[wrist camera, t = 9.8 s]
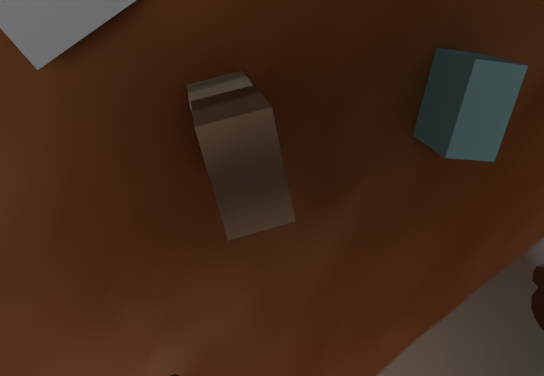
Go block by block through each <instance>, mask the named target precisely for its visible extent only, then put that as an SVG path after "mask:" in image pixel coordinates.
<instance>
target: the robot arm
mask: <svg viewBox="0 0 544 376" xmlns="http://www.w3.org/2000/svg"><path fill="white" fill-rule="evenodd" d="M532 281H533V282H534V283H535V284H536V285H537V286H538V288H537V289H536V291H535V292H534V294H533V295H532V298H531V299H532V300H531V301H532V303H531V306H532V307H531V308H532V311H533V314H534V317H535V319H536V321H537V322H538V324H539V325H540V327H541V328H542V330H543V331H544V264H543V265H540V266H537V267H536V268H535V270H534V272H533V280H532ZM171 376H179V375H177V374H175V375H171Z"/></svg>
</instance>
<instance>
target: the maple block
mask: <svg viewBox="0 0 544 376" xmlns="http://www.w3.org/2000/svg"><path fill="white" fill-rule="evenodd" d="M249 86H252V83H251V82H250V80H249V79H248V77H247V76H246V75H245V73H244V72H243V70H242V71H238V72H234V73H230V74H227V75H223V76H219V77H215V78H211V79H207V80H203V81H200V82H196V83H192V84H188V85H187V91H188V98H189V105H190V108H191V101H193V100H197V99H201V98H205V97H209V96H213V95H217V94H221V93H225V92H229V91H233V90H237V89H241V88H245V87H249ZM191 111H192V108H191Z"/></svg>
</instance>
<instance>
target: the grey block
mask: <svg viewBox="0 0 544 376" xmlns="http://www.w3.org/2000/svg"><path fill="white" fill-rule="evenodd" d="M135 1H136V0H0V28H1V29H2V30H3V32H4V33H5V34H6V35H7V36H8V37H9V38H10V40H11V41H12V42H13V43H14V44H15V45H16V46H17V47H18V49H19V50H20V51H21V52H22V53H23V54H24V55H25V57H26V58H27V59H28V60H29V61H30V62H31V63H32V65H33V66H34V67H35V68H36V69H37V70H39V69H40V68H41V67H43V66H44V65H46V64H47V63H49V62H50V61H51V60H53V59H54V58H56V57H57V56H58V55H60V54H61V53H63V52H64V51H65V50H67V49H68V48H70V47H71V46H73V45H74V44H75V43H77V42H78V41H80V40H81V39H82V38H84V37H85V36H87V35H88V34H90V33H91V32H92V31H94V30H95V29H97V28H98V27H99V26H101V25H102V24H104V23H105V22H106V21H108V20H109V19H111V18H112V17H114V16H115V15H116V14H118V13H119V12H121V11H122V10H123V9H125V8H126V7H128V6H129V5H130V4H132V3H133V2H135Z"/></svg>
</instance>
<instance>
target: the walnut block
mask: <svg viewBox="0 0 544 376" xmlns="http://www.w3.org/2000/svg"><path fill="white" fill-rule="evenodd" d="M191 108H192V115H193V121H194V128H195V131H196V135H197V138H198V141H199V145H200V148H201V152H202V155H203V158H204V162H205V165H206V169H207V172H208V175H209V179H210V182H211V186H212V189H213V193H214V196H215V199H216V203H217V206H218V210H219V213H220V216H221V220H222V223H223V227H224V230H225V234H226V237H227V240H228V241H229V240H232V239H236V238H239V237H243V236H246V235H250V234H254V233H257V232H261V231H264V230H268V229H271V228H275V227H279V226H282V225H286V224H289V223H293V222H296V220H295V215H294V210H293V205H292V201H291V196H290V191H289V186H288V181H287V177H286V172H285V167H284V162H283V157H282V153H281V148H280V143H279V138H278V134H277V129H276V124H275V119H274V114H273V110H272V106H271V105H270V104H269V102H268V101H267V100H266V98H265V97H264V95H263V94H262V93H261V91H260V90H259V89H258V87H257V86H256V85H252V86H249V87H245V88H241V89H237V90H233V91H229V92H225V93H221V94H217V95H213V96H209V97H205V98H201V99H197V100H193V101H191Z"/></svg>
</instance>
